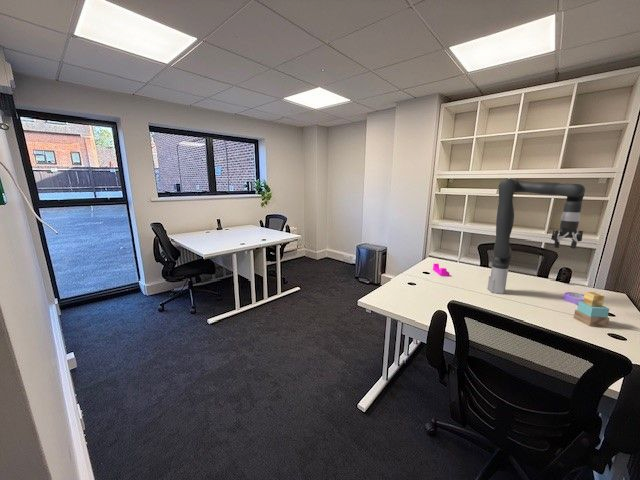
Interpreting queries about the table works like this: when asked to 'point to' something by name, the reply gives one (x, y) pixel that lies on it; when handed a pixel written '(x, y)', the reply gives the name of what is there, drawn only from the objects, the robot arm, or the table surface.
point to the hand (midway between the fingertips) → (564, 248)
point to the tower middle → (593, 310)
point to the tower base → (591, 319)
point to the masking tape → (573, 297)
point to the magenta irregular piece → (440, 270)
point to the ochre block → (593, 299)
